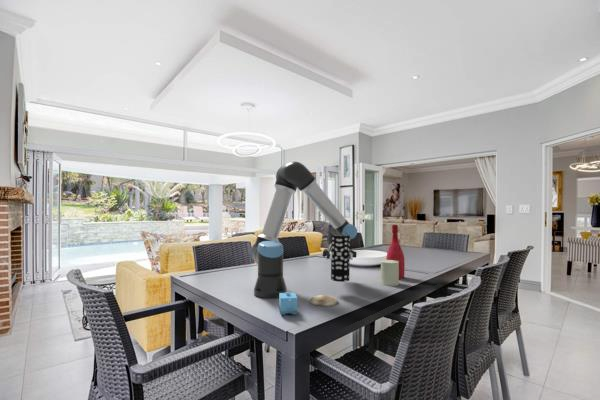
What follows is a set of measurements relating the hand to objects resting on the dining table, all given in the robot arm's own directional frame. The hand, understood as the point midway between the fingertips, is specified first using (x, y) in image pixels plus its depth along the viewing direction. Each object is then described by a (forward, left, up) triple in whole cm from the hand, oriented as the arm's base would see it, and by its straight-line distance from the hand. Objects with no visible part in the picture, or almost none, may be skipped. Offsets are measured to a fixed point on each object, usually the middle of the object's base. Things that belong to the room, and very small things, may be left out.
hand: (341, 256), depth 131 cm
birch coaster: (-8, -6, -18) cm, 21 cm away
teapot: (-22, -20, -18) cm, 35 cm away
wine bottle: (+35, +40, -18) cm, 56 cm away
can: (+28, +26, -18) cm, 42 cm away
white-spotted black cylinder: (0, +5, -11) cm, 12 cm away
